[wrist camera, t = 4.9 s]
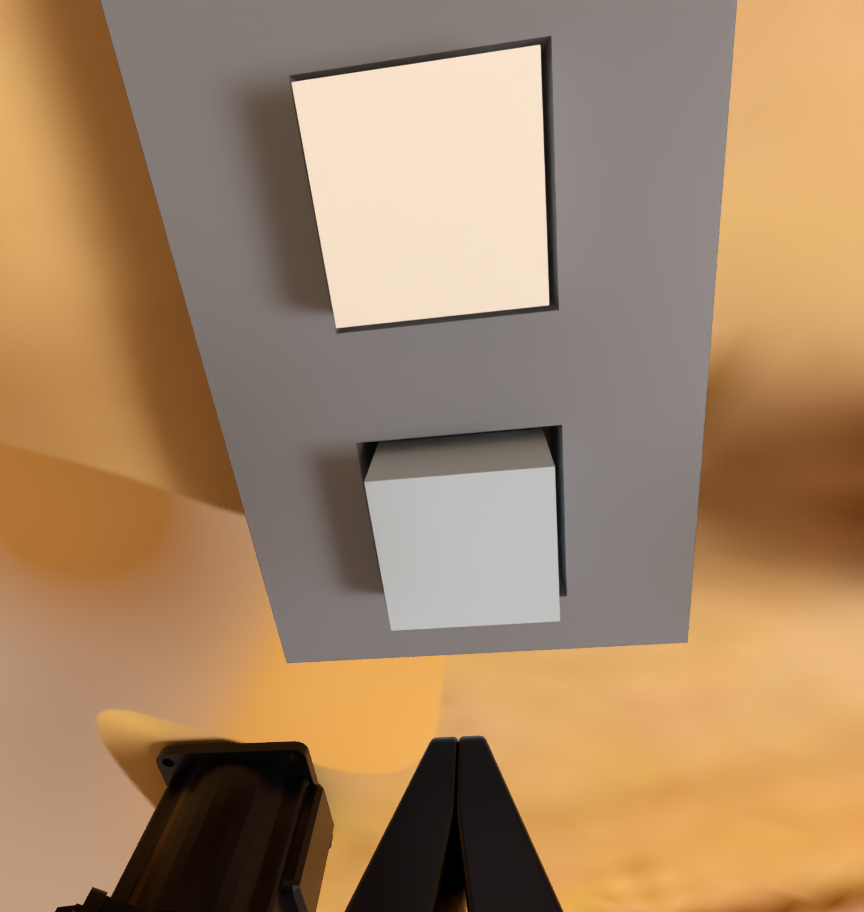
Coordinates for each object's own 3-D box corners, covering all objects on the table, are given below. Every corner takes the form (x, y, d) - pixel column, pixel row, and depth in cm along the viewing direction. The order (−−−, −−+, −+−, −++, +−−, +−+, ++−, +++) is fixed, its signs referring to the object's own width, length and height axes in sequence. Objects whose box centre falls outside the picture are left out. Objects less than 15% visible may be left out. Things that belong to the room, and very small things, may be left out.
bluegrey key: (400, 576, 17) (391, 630, 15) (378, 442, 16) (363, 482, 14) (547, 567, 17) (560, 621, 15) (542, 427, 15) (554, 466, 13)
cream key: (356, 308, 14) (336, 328, 12) (321, 102, 12) (291, 82, 10) (536, 288, 14) (549, 305, 12) (527, 72, 12) (540, 44, 10)
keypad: (313, 593, 21) (286, 663, 18) (58, -467, 11) (-106, -734, 8) (651, 571, 20) (687, 642, 17) (704, -631, 10) (816, -1020, 7)
